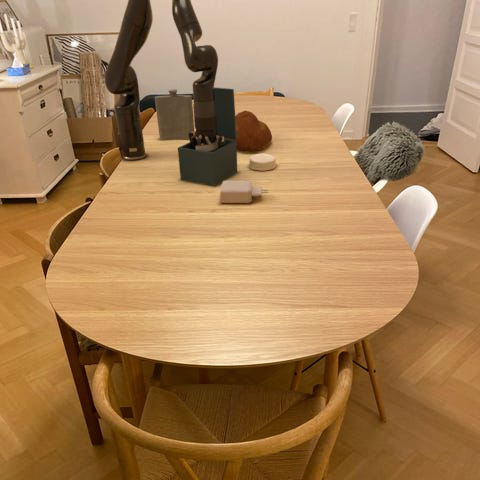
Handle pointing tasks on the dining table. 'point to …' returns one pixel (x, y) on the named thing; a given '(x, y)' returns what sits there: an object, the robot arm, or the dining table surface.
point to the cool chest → (208, 163)
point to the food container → (207, 147)
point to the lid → (225, 112)
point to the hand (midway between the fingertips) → (208, 163)
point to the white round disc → (262, 162)
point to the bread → (251, 132)
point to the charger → (239, 191)
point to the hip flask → (174, 115)
